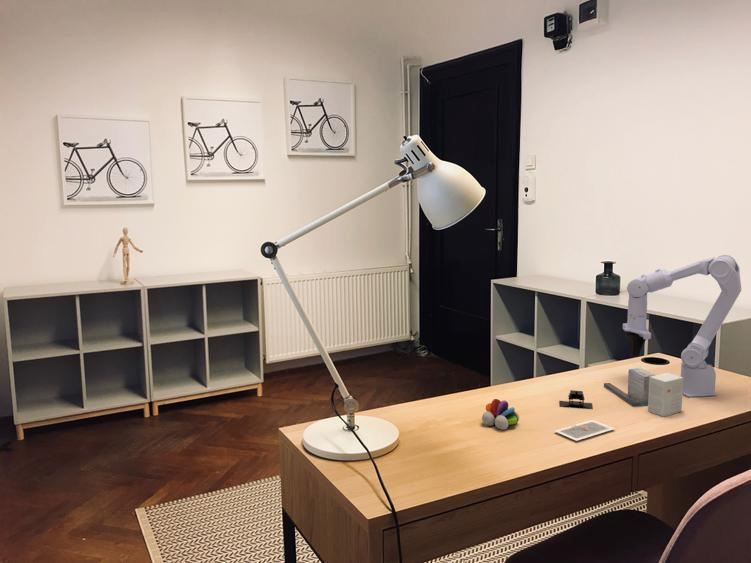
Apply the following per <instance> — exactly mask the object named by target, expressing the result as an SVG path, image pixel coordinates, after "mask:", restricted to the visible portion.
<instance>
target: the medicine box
mask: <svg viewBox="0 0 751 563" xmlns="http://www.w3.org/2000/svg"><path fill="white" fill-rule="evenodd" d="M655 375H656V374H655V373H652V372H651V371H648V370H647V369H643V368H641V367H635V368H630V369H629V368H628V374H627V377H628V378H627V379H628V380H627V395H629V396H631V397H632V398H634V399H635V400H637V401H648V395H649V377H651V376H655Z"/></svg>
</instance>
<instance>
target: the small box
mask: <svg viewBox="0 0 751 563" xmlns="http://www.w3.org/2000/svg"><path fill="white" fill-rule="evenodd" d="M683 395H684V394H683V377H681V375H676V374H673V373H670V372H664V373H660V374H655V376H651V377H649V395H648V406H647V411H648V412H650V413H652V414H655V415H658V416H661V417H663V418H664V417H667V416H670V415H674V414H675V415H676V414H678V413H681V412H682V408H683Z"/></svg>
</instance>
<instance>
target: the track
mask: <svg viewBox="0 0 751 563" xmlns="http://www.w3.org/2000/svg"><path fill="white" fill-rule="evenodd" d="M603 388H605V389H607V391H609V392H611V393H613V395H616V396H617V397H618V398H620V400H623V401H624V402H625V403H627V404H628V405H629V406H632V407H635V408H637V407H638V408H640V407H648V401H638V400H636V399H634V398H632V397H631V396H629V395H628V393H626V392H624V391H623V390H622V389H620V388H619V387H617V386H616V385H614V384H612V383H611V382H603Z"/></svg>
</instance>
